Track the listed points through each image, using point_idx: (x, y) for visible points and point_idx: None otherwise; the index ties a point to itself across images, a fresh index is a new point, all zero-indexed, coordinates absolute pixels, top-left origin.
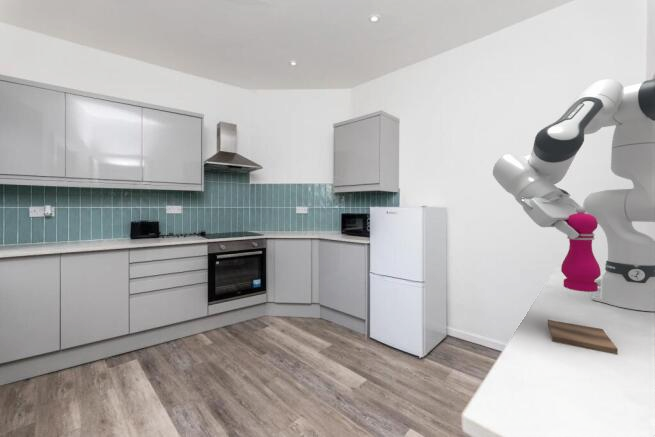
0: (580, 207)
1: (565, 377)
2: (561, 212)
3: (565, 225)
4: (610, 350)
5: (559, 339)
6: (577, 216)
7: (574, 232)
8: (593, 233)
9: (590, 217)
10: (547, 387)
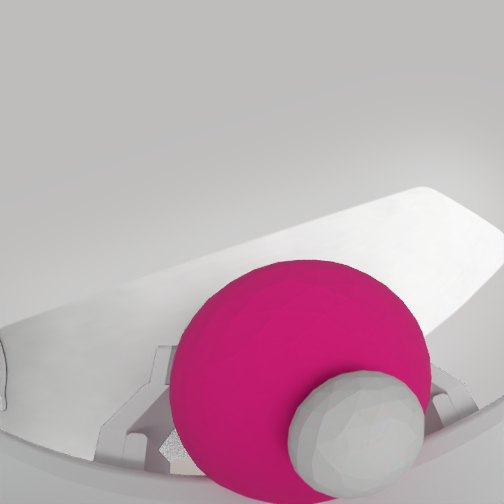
0: (423, 428)
1: (418, 259)
2: (467, 487)
3: (451, 382)
4: None
5: None
6: (429, 368)
7: None
8: (163, 347)
9: (362, 279)
10: (449, 254)
